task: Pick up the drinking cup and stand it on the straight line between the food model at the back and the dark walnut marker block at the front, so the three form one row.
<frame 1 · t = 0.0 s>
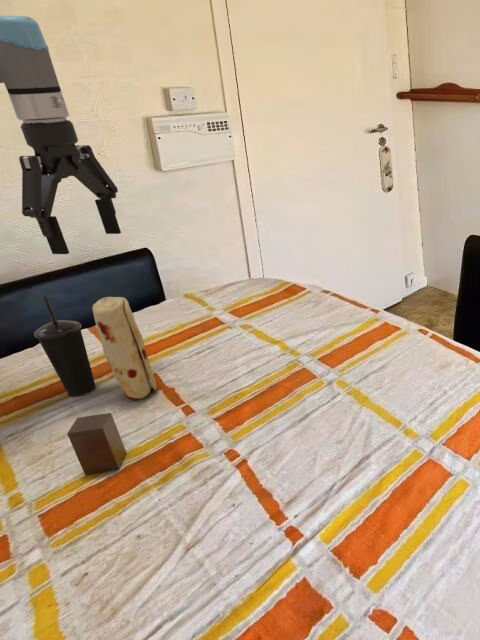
hand: (88, 243, 117), 29 cm above the table, tool pointing down, fingers open, 13 cm apart
drinking cup: (82, 391, 126), on the table
marker block: (106, 463, 103), on the table
food model: (141, 394, 125), on the table
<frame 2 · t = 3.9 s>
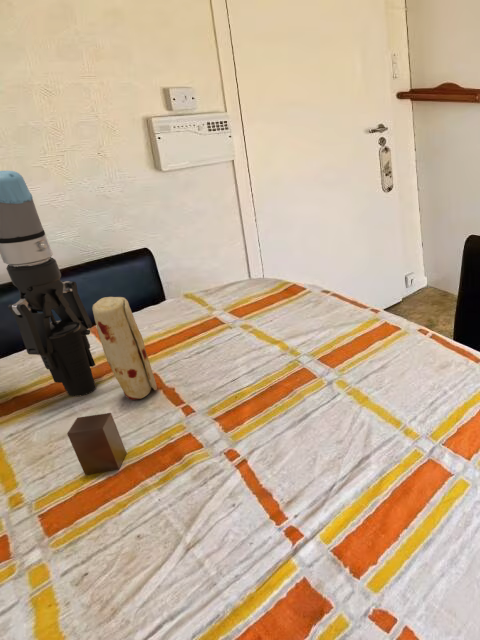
hand: (75, 373, 124), 4 cm above the table, tool pointing down, fingers closed on drinking cup, 6 cm apart
drinking cup: (82, 391, 126), on the table, touching gripper
everything else where it was.
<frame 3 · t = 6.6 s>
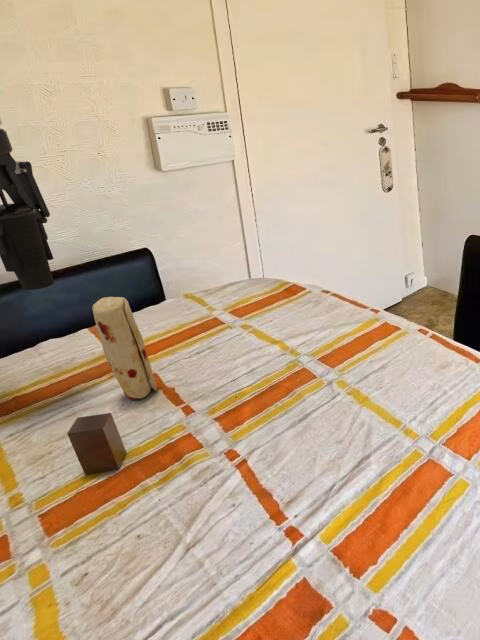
hand: (30, 264, 114), 26 cm above the table, tool pointing down, fingers closed on drinking cup, 6 cm apart
drinking cup: (39, 286, 116), point 22 cm above the table, touching gripper
everything else where it was.
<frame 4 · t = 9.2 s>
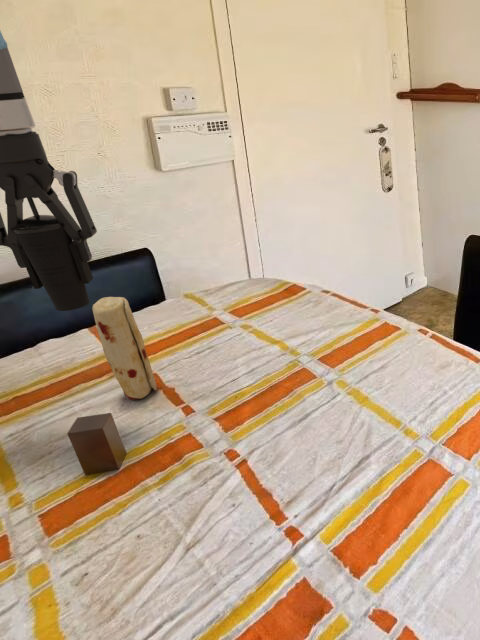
hand: (64, 283, 102), 27 cm above the table, tool pointing down, fingers closed on drinking cup, 6 cm apart
drinking cup: (73, 306, 104), point 23 cm above the table, touching gripper
everything else where it was.
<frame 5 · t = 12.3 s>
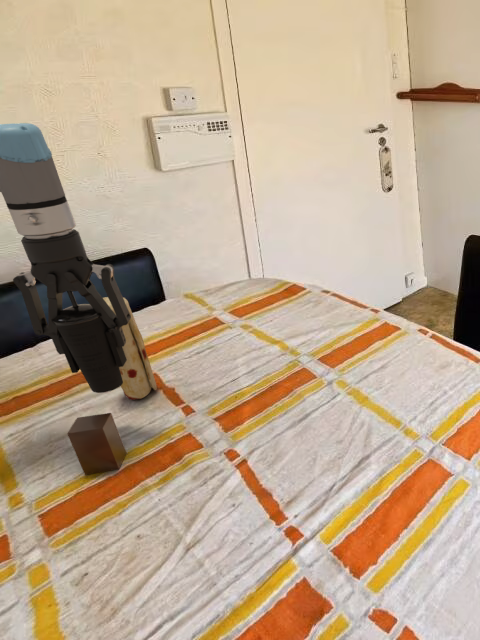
hand: (100, 366, 107), 13 cm above the table, tool pointing down, fingers closed on drinking cup, 6 cm apart
drinking cup: (108, 387, 109), point 9 cm above the table, touching gripper
everything else where it was.
when the fingers open (4 cm above the table, at t = 14.7 s): drinking cup stays where it is, on the table.
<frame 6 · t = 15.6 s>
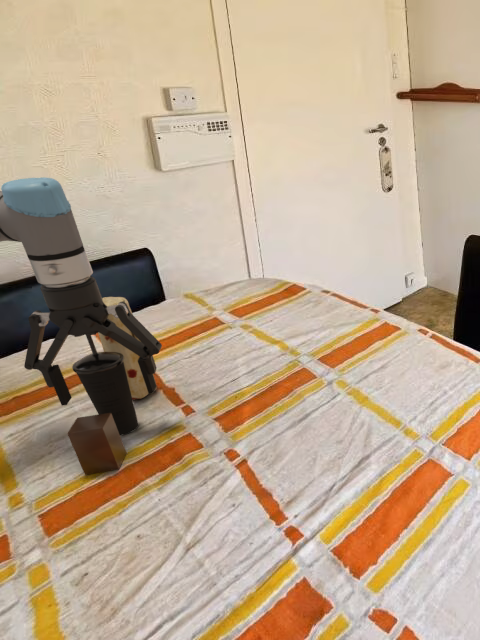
hand: (110, 395, 110), 7 cm above the table, tool pointing down, fingers open, 13 cm apart
drinking cup: (124, 429, 113), on the table
everything else where it was.
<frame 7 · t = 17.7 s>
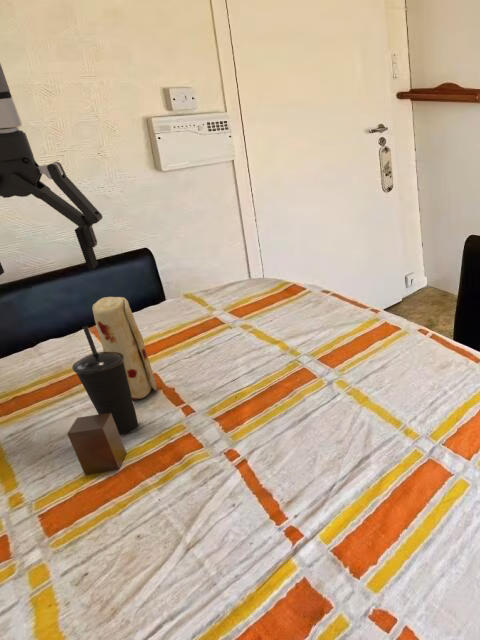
hand: (46, 271, 101), 29 cm above the table, tool pointing down, fingers open, 13 cm apart
nothing on the table moved.
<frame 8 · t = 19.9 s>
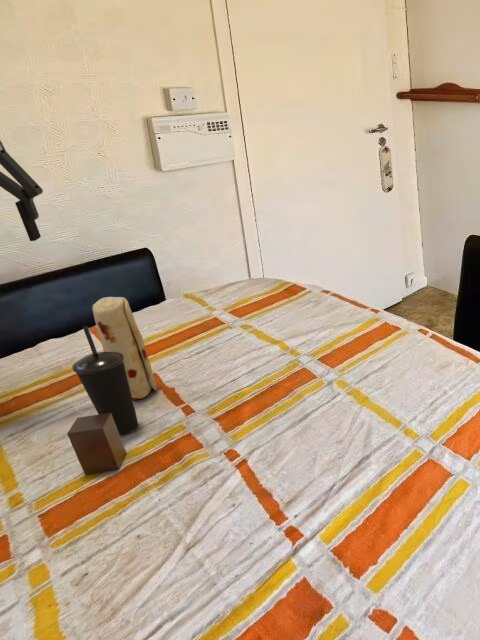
nothing on the table moved.
at the end: drinking cup 0.0 cm from the target spot on the table beside the marker block, on the table; drinking cup tilted 0°; food model moved 0.2 cm from its start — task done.
